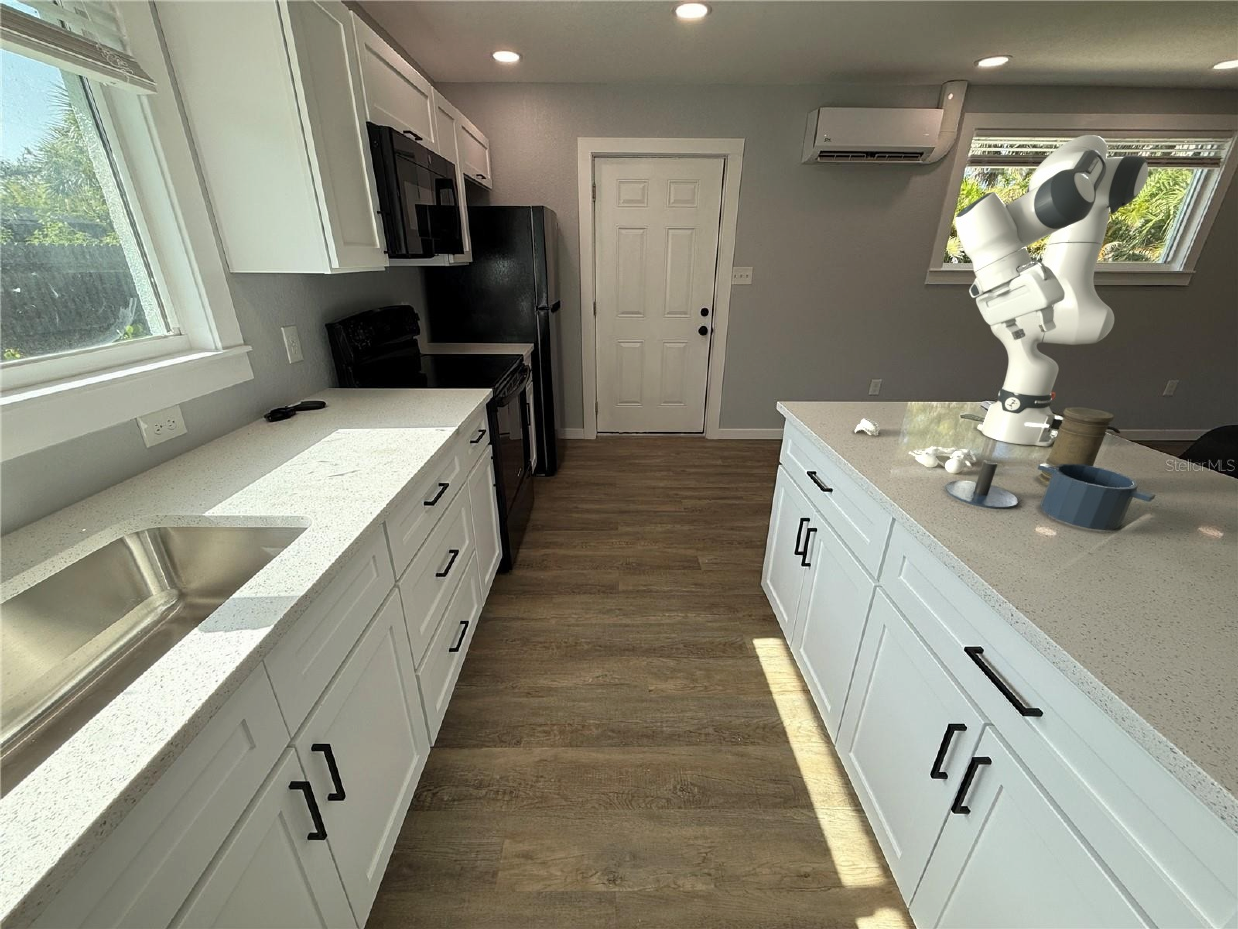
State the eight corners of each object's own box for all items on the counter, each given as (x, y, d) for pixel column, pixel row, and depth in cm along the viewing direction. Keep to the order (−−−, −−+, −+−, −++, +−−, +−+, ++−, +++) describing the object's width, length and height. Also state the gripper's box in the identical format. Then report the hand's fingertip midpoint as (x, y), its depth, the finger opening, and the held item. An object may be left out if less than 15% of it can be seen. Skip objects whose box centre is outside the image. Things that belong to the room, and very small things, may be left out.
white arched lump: (856, 430, 156) (857, 415, 155) (879, 432, 153) (881, 416, 151) (853, 436, 150) (854, 420, 148) (878, 437, 146) (879, 421, 145)
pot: (1041, 493, 112) (1056, 455, 108) (1147, 528, 98) (1167, 485, 94) (1014, 506, 107) (1028, 466, 103) (1121, 544, 92) (1141, 500, 89)
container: (1096, 494, 112) (1127, 419, 105) (1051, 491, 113) (1079, 416, 106) (1071, 478, 120) (1098, 407, 113) (1029, 475, 121) (1054, 405, 114)
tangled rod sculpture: (927, 449, 141) (929, 436, 140) (987, 460, 130) (990, 445, 129) (900, 465, 129) (902, 450, 128) (963, 478, 119) (966, 462, 117)
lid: (964, 480, 119) (974, 447, 116) (1028, 502, 108) (1041, 466, 105) (932, 492, 113) (941, 458, 110) (996, 517, 102) (1009, 479, 99)
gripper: (1057, 247, 89) (1089, 316, 89) (994, 279, 109) (1020, 335, 109) (1020, 265, 90) (1051, 333, 90) (964, 293, 110) (990, 348, 110)
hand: (1033, 334), depth 100 cm, fingers open, 8 cm apart
